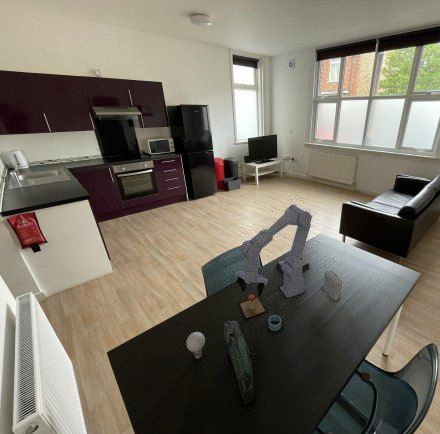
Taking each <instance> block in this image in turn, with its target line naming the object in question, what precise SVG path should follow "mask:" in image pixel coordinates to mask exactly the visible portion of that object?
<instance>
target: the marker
mask: <svg viewBox="0 0 440 434" xmlns="http://www.w3.org/2000/svg"><path fill="white" fill-rule="evenodd" d="M255 298H256V295H255V294H253V293H251V294H249V295H248V301H249V308H250V309H254V308H255Z"/></svg>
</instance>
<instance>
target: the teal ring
mask: <svg viewBox="0 0 440 434" xmlns="http://www.w3.org/2000/svg"><path fill="white" fill-rule="evenodd" d="M272 322H277V323H278V324H273V323H272ZM282 323H283V321H282V318H281V316H280V315H278V314H271V316H269V317H268V319H267V327H268V329H269V330H270V331H273V332H278V331H279V330H280V329H281V328H282Z"/></svg>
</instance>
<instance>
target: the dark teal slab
mask: <svg viewBox="0 0 440 434" xmlns="http://www.w3.org/2000/svg"><path fill="white" fill-rule="evenodd" d="M223 336H224V339H225V343H226V344H227V347H228V348H227V349H228V355H229V359H230V362H231V363H232V366H233V370H234V373H235V376H236V379H237V384H238V387H239V390H240V395H241V399H242V402H243V403H244V405H248V404H249V403H251V402H254V398H255V380H254V373H253V372H254V371H253V362H252V356H251V355H252V354H251V352H250V349H249V347H248V344H247V342H246V340H245V337H244V335H243V333H242V330H241V327H240V324H239V322H238V321H237V320H228V319H226V322H224V324H223Z"/></svg>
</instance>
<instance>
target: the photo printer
mask: <svg viewBox="0 0 440 434" xmlns="http://www.w3.org/2000/svg"><path fill="white" fill-rule="evenodd" d="M342 287H343V280H342V278H341V277H340V276H339V274H338V273H337V272H336V271H335V270H333V269H332V268H326V269H325V271H324V274H323V282H322V288H323V290H324V291H325V293H326V294H327V295H328V296H329V297H330V298H331V299H332V300H333V301H338V300H339V298H340V297H341V291H342Z"/></svg>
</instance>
